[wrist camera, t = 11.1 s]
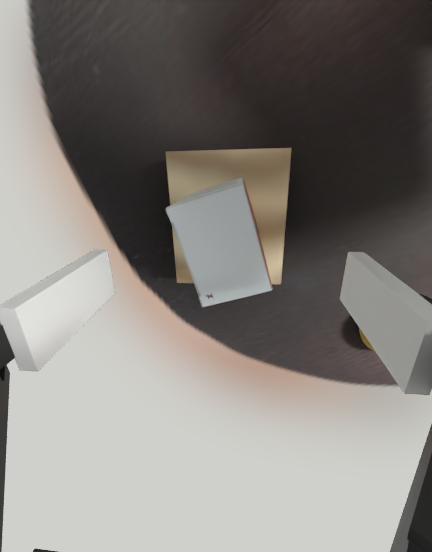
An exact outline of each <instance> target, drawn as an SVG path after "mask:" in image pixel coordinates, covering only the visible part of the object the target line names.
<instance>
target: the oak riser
mask: <svg viewBox="0 0 432 552" xmlns="http://www.w3.org/2000/svg"><path fill="white" fill-rule="evenodd" d="M290 160H291V148H269V149H235V150H202V151H169V152H166V162H167V174H168V185H169V197H170V205H172V204H174V203H176V202H178V201H180V200H181V199H183V198H185V197H187V196H189V195H191V194H193V193H195V192H198V191H201V190H204V189H207V188H210V187H213V186H216V185H219V184H222V183H225V182H228V181H231V180H234V179H238V178H241V177H243V178H244V181H245V185H246V188H247V192H248V195H249V199H250V202H251V205H252V209H253V212H254V216H255V219H256V223H257V227H258V231H259V234H260V238H261V242H262V246H263V250H264V254H265V258H266V263H267V267H268V271H269V275H270V280H271V284H281V276H282V263H283V250H284V237H285V224H286V212H287V199H288V186H289V173H290ZM172 231H173V242H174V254H175V265H176V276H177V283H194V281H193V279H192V276H191V273H190V270H189V268H188V265H187V262H186V260H185V257H184V255H183V252H182V249H181V247H180V244H179V241H178V239H177V236H176V234H175V231H174V229H173V226H172Z"/></svg>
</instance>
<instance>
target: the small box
mask: <svg viewBox="0 0 432 552" xmlns="http://www.w3.org/2000/svg"><path fill="white" fill-rule="evenodd" d="M166 213H167V215H168V217H169V219H170V222H171V224H172V226H173V229H174V231H175V234H176V236H177V239H178V241H179V244H180V247H181V249H182V252H183V255H184V257H185V260H186V262H187V265H188V268H189V270H190V273H191V276H192V279H193V281H194V284H195V287H196V290H197V293H198V296H199V299H200V302H201V306H202V307H205V306H210V305H214V304H218V303H222V302H227V301H231V300H235V299H239V298H243V297H247V296H252V295H256V294H260V293H264V292H267V291H271V290H272V289H273V288H272V284H271V280H270V275H269V271H268V267H267V263H266V258H265V254H264V250H263V246H262V242H261V238H260V234H259V231H258V227H257V223H256V219H255V216H254V212H253V209H252V205H251V202H250V199H249V195H248V192H247V188H246V185H245V181H244V178H243V177H241V178H238V179H234V180H231V181H228V182H225V183H222V184H219V185H216V186H213V187H210V188H207V189H204V190H201V191H198V192H195V193H193V194H191V195H189V196H187V197H185V198H183V199H181V200H180V201H178V202H176V203H174V204H172V205H170V206H168V207H167V208H166Z"/></svg>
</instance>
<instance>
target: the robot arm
mask: <svg viewBox="0 0 432 552" xmlns="http://www.w3.org/2000/svg"><path fill="white" fill-rule="evenodd" d="M114 294H115V288H114V283H113V277H112V272H111V267H110V261H109V256H108V251H107V250H93V251H92V252H90V253H88V254H86V255H85V256H83V257H81V258H80V259H78V260H76V261H74V262H73V263H71V264H69V265H68V266H66V267H64V268H62V269H61V270H59V271H57V272H56V273H54V274H52V275H50V276H49V277H47V278H45V279H44V280H42V281H40V282H38V283H37V284H35V285H33V286H31V287H30V288H28V289H27V290H25V291H23V292H21V293H19V294H18V295H16V296H14V297H13V298H11V299H9V300H7V301H6V302H4V303H2V304H1V305H0V552H1V548H2V526H3V506H4V483H5V463H6V442H7V420H8V399H9V378H10V372H9V370H8V367H7V364H8V363H9V362H10V361H11V360H12V359H14V358H15V360H16V363H17V365H18V368H19V370H22V371H39V370H40V369H41V368H42V367H43V366H44V365H45V364H46V363H47V362H48V361H49V360H50V359H51V358H52V357H53V356H54V355H55V354H56V353H57V352H58V351H59V350H60V349H61V348H62V347H63V346H64V345H65V344H66V343H67V341H69V340H70V339H71V337H73V336H74V335H75V334H76V332H78V331H79V330H80V329H81V328H82V327H83V326H84V325H85V324H86V323H87V322H88V320H89V319H90V318H91V317H92V316H93V315H94V314H95V313H96V312H97V311H98V310H99V309H100V308H101V307H102V306H103V305H104V304H105V303H106V302H107V301H108V300H109V299H110V298H111V297H112V296H113V295H114ZM340 300H341V302H342V303H343V305H344V306H345V307H346V309H347V310H348V312H349V313H350V315H351V316H352V318H353V319H354V321H355V322H356V324H357V325H358V326H359V328H360V329H361V331H362V332H363V334H364V335H365V337H366V338H367V340H368V341H369V343H370V344H371V345H372V347H373V348H374V350H375V351H376V353H377V354H378V356H379V357H380V359H381V360H382V362H383V363H384V364H385V366H386V367H387V369H388V370H389V372H390V373H391V375H392V376H393V378H394V379H395V381H396V382H397V383H398V385H399V386H400V388H401V389H402V391H403V392H404V393H405V394H421V395H429V394H430V392H431V389H432V299H431V298H428V297H426V296H424V295H422V294H418V293H416V292H415V291H414V290H412V289H411V288H410V287H409V286H407V285H406V284H405V283H403V282H402V281H401V280H399V279H398V278H397V277H396V276H394V275H393V274H392V273H390V272H389V271H388V270H386V269H385V268H384V267H382V266H381V265H380V264H379V263H377V262H376V261H375V260H373V259H372V258H371V257H369V256H368V255H367V254H366V253H364V252H348V256H347V261H346V267H345V272H344V278H343V283H342V289H341V295H340ZM33 552H55V551H48V550H41V549H34V550H33ZM390 552H432V425H431V428H430V431H429V434H428V437H427V441H426V443H425V446H424V449H423V452H422V455H421V458H420V461H419V465H418V468H417V471H416V474H415V477H414V480H413V483H412V486H411V489H410V492H409V495H408V498H407V501H406V504H405V507H404V510H403V513H402V516H401V519H400V523H399V526H398V529H397V532H396V535H395V538H394V541H393V544H392V547H391V550H390Z"/></svg>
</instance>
